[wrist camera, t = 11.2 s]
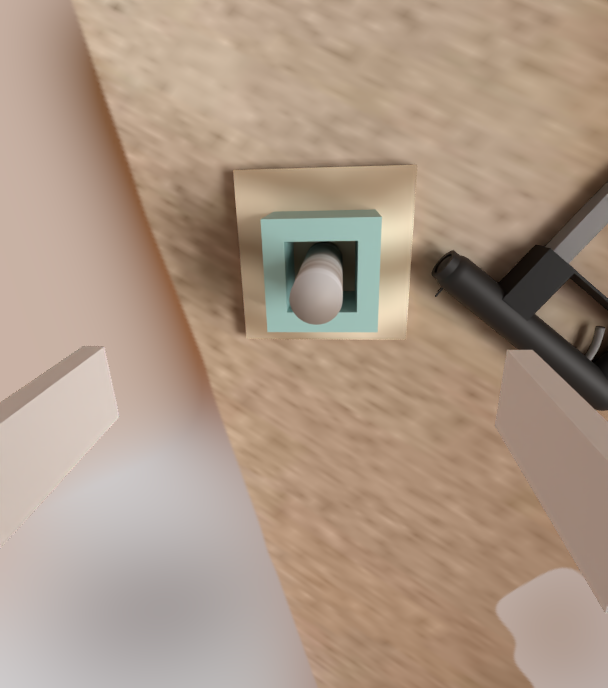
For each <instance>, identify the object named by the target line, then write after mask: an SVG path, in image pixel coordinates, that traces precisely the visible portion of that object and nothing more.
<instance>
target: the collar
mask: <svg viewBox="0 0 608 688" xmlns="http://www.w3.org/2000/svg"><path fill="white" fill-rule="evenodd" d="M381 228H382V216H381V215H380V214H379V213H378V212H377V211H376V209H373V210H327V211H281V212H272V213H271V214H269V215H267V216H265V217H264V218H262V219H261V235H262V251H263V268H264V284H265V300H266V316H267V332H378V309H379V282H380V255H381ZM307 241H356V246H355V291H343V301H342V307H341V309H340V311H339V313H338V314H337V316H336V317H335V318H334V319H332V320H331V321H329V322H327V323H324V324H320V325H313V324H308V323H306V322H303V321H302V320H300V319H299V318H298V317H297V316H296V315H295V314H294V312H293V311H292V309H291V306H290V300H289V297H290V292H291V289H292V286H293V284H294V282H295V267H294V242H307Z"/></svg>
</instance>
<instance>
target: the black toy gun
mask: <svg viewBox="0 0 608 688" xmlns="http://www.w3.org/2000/svg"><path fill="white" fill-rule="evenodd" d="M607 224H608V182H607V183H606V184H605V185H604V186H603V187H602V188H601V189H600V190H599V191H598V192H597V193H596V194H595V195H594V196H593V197H592V198H591V199H590V200H589V201H588V202H587V203H586V204H585V205H584V206H583V207H582V208H581V209H580V210H579V211H578V212H577V213H576V214H575V215H574V216H573V217H572V218H571V219H570V220H569V222H568V223H567V224H566V225H565V226H564V227H563V228H562V229H561V230H560V231H559V232H558V233H557V234H556V235H555V236H554V237H553V239H552V240H551V241H550V242H549V243H548V244H547V245H546V246H545V247H543V246H539V245H535V246H534V247H533V248H532V249H531V250H530V251H529V252H528V253H527V254H526V255H525V256H524V257H523V258H522V259H521V261H520V262H519V263H518V264H517V265H516V266H515V267H514V268H513V269H512V270H511V271H510V272H509V273H508V274H507V275H506V276H505V277H504V278H503V279H502V280H501V281H500V282H499V283H497V282H496V281H494V280H493V279H492V278H491V277H490V276H488V275H487V274H486V273H485V272H484V271H482V270H481V269H480V268H479V267H478V266H476V265H475V264H474V263H473V262H472V261H470V260H469V259H468V258H466V257H464V256H460V255H459V254H457V253H456V252H455V251H454V250H453V251H450V252H448V253H447V254H446V255H444V256H443V257H442V258H441V259H440V260H439V262H438V263H437V264H436V266H435V267H434V269H433V271H432V276H433V277H434V278H436V279H437V281H438V283H439V285H440V286H441V288H440V289H441V290H440V289H439V290H440V291H439V290H438V291H439V292H438V293H437V294H436V295H435V297H436V296H437V295H438V294H439V293H440V292H441V291H442V290H443V289H444V290H445V291H447V292H448V293H449V294H450V295H452V296H453V297H454V298H455V299H457V300H458V301H459V302H460V303H461V304H463V305H464V306H465V307H466V308H468V309H469V310H470V311H471V312H473V313H474V314H475V315H476V316H478V317H479V318H480V319H481V320H483V321H484V322H485V323H486V324H488V325H489V326H490V327H491V328H492V329H494V330H495V331H496V332H497V333H499V334H500V335H501V336H502V337H504V338H505V339H506V340H507V341H509V342H510V343H511V344H512V345H514V346H515V347H516V348H517V349H519V350H533V351H534V352H535V353H536V354H538V355H539V356H540V357H541V358H542V359H543V360H544V361H545V362H546V363H547V364H548V365H549V366H550V367H551V368H552V369H553V370H554V371H555V372H556V373H557V374H558V375H559V376H560V377H561V378H563V379H564V380H565V381H566V382H567V383H568V384H569V385H570V386H571V387H572V388H573V389H574V390H575V391H576V392H577V393H578V394H579V395H580V396H581V397H582V398H583V399H584V400H585V401H587V402H588V403H589V404H590V405H591V406H592V407H593V408H594V409H596V410H601V411H605V410H608V351H607V352H606V353H604V354H603V355H602V356H601V357H600V358H599V359H598V360H597V361H596V362H595V363H593V362H592V361H591V360H592V359H593V357H594V356H595V354H596V353H597V351H598V349H599V347H600V345H601V342H602V339H603V336H604V331H605V327H602V326H596V328H595V333H594V337H593V340H592V343H591V346H590V348H589V350H588V352H587V353H586V355H583V354H582V353H581V352H580V351H579V350H577V349H576V348H575V347H574V346H573V345H571V344H570V343H569V342H568V341H567V340H565V339H564V338H563V337H562V336H561V335H559V334H558V333H557V332H556V331H555V330H553V329H552V328H551V327H550V326H549V325H547V324H546V323H545V322H544V321H543V320H541V319H540V318H539V317H538V316H537V315H535V313H536V312H537V311H538V310H539V309H540V308H541V307H542V306H543V305H544V304H545V303H546V302H547V301H548V300H549V299H550V298H551V297H552V295H553V294H554V293H555V292H556V291H557V290H558V289H559V288H560V287H561V286H562V285H563V284H564V283H565V282H566V281H567V280H568V279H569V278H571V279H572V280H573V281H574V282H575V283H577V284H578V285H579V286H580V287H581V288H582V289H583V290H585V291H586V292H587V293H588V294H589V295H590V296H592V297H593V298H594V299H595V300H596V301H597V302H598V303H600V304H601V305H602V306H603V307H604V308H605V309H607V310H608V298H607V297H606V296H604V295H603V294H602V293H601V292H600V291H599V290H598V289H596V288H595V287H594V286H593V285H592V284H591V283H590V282H588V281H587V280H586V279H585V278H584V277H583V276H582V275H580V274H579V273H578V272H577V271H576V270H575V269H574V268H573V267H572V266H570V265H569V263H570V262H571V261H572V260H573V259H574V258H575V257H576V255H577V254H578V253H579V252H580V251H581V250H582V249H583V248H584V247H585V246H586V245H587V244H588V243H589V242H590V241H591V240H592V239H593V238H594V237H595V236H596V235H597V234H598V233H599V232H600V231H601V230H602V229H603V228H604V227H605V226H606V225H607Z"/></svg>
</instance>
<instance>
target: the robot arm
mask: <svg viewBox="0 0 608 688" xmlns="http://www.w3.org/2000/svg"><path fill="white" fill-rule="evenodd" d="M118 418H119V413H118V408H117V403H116V398H115V394H114V389H113V384H112V380H111V375H110V370H109V366H108V361H107V357H106V352H105V347H104V346H83V347H81V348H80V349H78V350H77V351H75V352H74V353H72V354H71V355H69V356H68V357H66V358H65V359H63V360H62V361H61V362H59V363H58V364H56V365H55V366H53V367H52V368H50V369H49V370H47V371H46V372H44V373H43V374H41V375H40V376H38V377H37V378H35V379H34V380H33V381H31V382H30V383H28V384H27V385H25V386H24V387H22V388H21V389H19V390H18V391H16V392H15V393H13V394H12V395H11V396H9V397H8V398H6V399H5V400H3V401H2V402H0V549H1V547H2V546H3V545H4V544H5V543H6V542H7V541H8V540H9V539H10V537H11V536H12V535H13V534H14V533H15V532H16V531H17V530H18V529H19V527H20V526H21V525H22V524H23V523H24V522H25V521H26V520H27V519H28V518H29V516H30V515H31V514H32V513H33V512H34V511H35V510H36V509H37V508H38V507H39V505H40V504H41V503H42V502H43V501H44V500H45V499H46V498H47V497H48V495H49V494H50V493H51V492H52V491H53V490H54V489H55V488H56V487H57V485H58V484H59V483H60V482H61V481H62V480H63V479H64V478H65V477H66V475H67V474H68V473H69V472H70V471H71V470H72V469H73V468H74V467H75V466H76V464H77V463H78V462H79V461H80V460H81V459H82V458H83V457H84V456H85V455H86V453H87V452H88V451H89V450H90V449H91V448H92V447H93V445H94V444H95V443H96V442H97V441H98V440H99V439H100V438H101V437H102V436H103V435H104V433H105V432H106V431H107V430H108V429H109V428H110V427H111V425H113V423H114V422H115V421H116V420H117V419H118ZM495 427H496V428H497V430H498V432H499V433H500V435H501V437H502V439H503V440H504V442H505V444H506V445H507V447H508V449H509V450H510V452H511V454H512V456H513V457H514V459H515V461H516V462H517V464H518V466H519V467H520V469H521V471H522V473H523V474H524V476H525V478H526V479H527V481H528V483H529V484H530V486H531V488H532V490H533V491H534V493H535V495H536V496H537V498H538V500H539V501H540V503H541V505H542V507H543V508H544V510H545V512H546V513H547V515H548V517H549V518H550V520H551V522H552V524H553V525H554V527H555V529H556V530H557V532H558V534H559V536H560V537H561V539H562V541H563V542H564V544H565V546H566V547H567V549H568V551H569V553H570V554H571V556H572V558H573V559H574V561H575V563H576V564H577V566H578V568H579V570H580V571H581V573H582V575H583V576H584V578H585V580H586V581H587V583H588V585H589V587H590V588H591V590H592V592H593V593H594V595H595V597H596V598H597V600H598V602H599V604H600V605H601V607H602V609H603V610H604V612H605V613H608V422H607V421H606V420H605V419H604V418H603V417H602V416H601V415H600V414H599V413H598V412H597V411H596V410H595V409H594V408H593V407H592V406H591V405H590V404H589V403H588V402H587V401H585V400H584V399H583V398H582V397H581V396H580V395H579V394H578V393H577V392H576V391H575V390H574V389H573V388H572V387H571V386H570V385H569V384H568V383H567V382H566V381H565V380H564V379H563V378H561V377H560V376H559V375H558V374H557V373H556V372H555V371H554V370H553V369H552V368H551V367H550V366H549V365H548V364H547V363H546V362H545V361H544V360H543V359H542V358H541V357H540V356H539V355H538V354H536V353H535V352H534V351H533V350H507V353H506V359H505V366H504V372H503V378H502V384H501V391H500V397H499V403H498V409H497V416H496V422H495Z"/></svg>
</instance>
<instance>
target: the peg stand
mask: <svg viewBox="0 0 608 688" xmlns="http://www.w3.org/2000/svg"><path fill="white" fill-rule="evenodd" d="M233 176H234V188H235V201H236V214H237V226H238V239H239V251H240V264H241V276H242V289H243V301H244V314H245V326H246V339H361V340H406V331H407V316H408V300H409V285H410V269H411V254H412V238H413V223H414V207H415V192H416V176H417V165H388V166H353V167H318V168H284V169H249V170H233ZM373 209H376V211H377V212H378V213H379V214H380V215H381V216H382V228H381V255H380V282H379V309H378V332H267V316H266V300H265V284H264V268H263V251H262V235H261V219H262V218H264V217H265V216H267V215H269V214H271V213H272V212H281V211H327V210H373ZM355 246H356V241H307V242H294V267H295V282H294V284H293V286H292V289H291V292H290V297H289V300H290V306H291V309H292V311H293V312H294V314H295V315H296V316H297V317H298V318H299V319H300V320H302V321H303V322H306V323H308V324H313V325H320V324H324V323H327V322H329V321H331V320H332V319H334V318H335V317H336V316H337V314H338V313H339V311H340V309H341V307H342V301H343V291H355Z"/></svg>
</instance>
